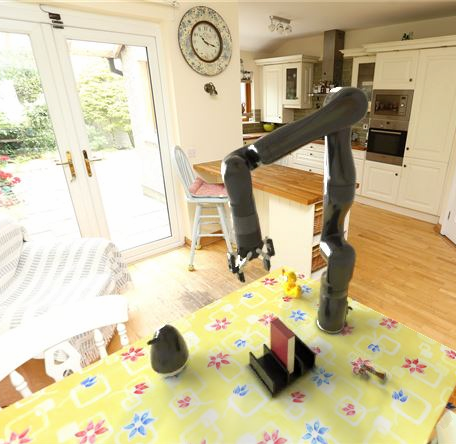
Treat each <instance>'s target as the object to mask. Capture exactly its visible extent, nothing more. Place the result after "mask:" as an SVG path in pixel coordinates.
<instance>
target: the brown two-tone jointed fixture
mask: <svg viewBox="0 0 456 444" xmlns="http://www.w3.org/2000/svg"><path fill="white" fill-rule="evenodd" d="M365 371H367V373H366V372H365ZM369 373H370V374H371V375H373V376H376V377H378V378H379V379H381V382H382V383H383V382H385V381H386V380H387V379H388V378H387V373H386V372H380V371H377V370H375V369H373V368H372V367H370V366H367V364H366V363H365V364H364V363H363V362H362V363H359V369H357V370H356V372H355V375H356V376H358V375H361V376H362V377H363V378H365V379H367V378H369V377H370V376H369Z"/></svg>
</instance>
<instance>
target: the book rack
mask: <svg viewBox="0 0 456 444" xmlns="http://www.w3.org/2000/svg"><path fill="white" fill-rule="evenodd" d="M291 331H292V332H293V330H291ZM293 333H294V334H295V351H294V372H292V373H291V374H289V373H290V372H289V371H288V370H287V368H286V367H285V366H284V365H283V364H282V363H281V361H280V360H279V359H278V358H277V357H276V356H275V355H274V353H273V352H272V351H271V348H269V347H268V345H267V344H266V343H263V344H262V346H263V347H262V349H263V352H262V353H263V355H262V356H260V357H258V358H257V357H256V356H255V355H254V353H253V352H252V351H249V353H248V355H249V356H248V357H249V364H248V368H250V370H251V371H252V372H253V374H254V375H255V377H256V378H257V379H258V381H259V382H260V383H261V384H262V386H263V387H264V389H265V390H266V391H267V393H268V395H270V397H271V398H274V397H275V396H277V395H278V394H280V393H281V392H282V391H284V390H285V389H287V388H288V387H290V386H291V385H292V384H294V383H295V382H297V381H299V379H301V378H302V377H305V376H306V375H307V374H308V373H310V372H311V371H312V370H314V369H316V367H317V365H316V359H317V358H316V357H317V354H316V353H315V351H313V350H312V349H311V348H310V347H309V346H308V345H307V344H306V343H305V341H303V340H302V339H301V338H300V337H299V336H298V335H297V334H296V333H295V332H293Z"/></svg>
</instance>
